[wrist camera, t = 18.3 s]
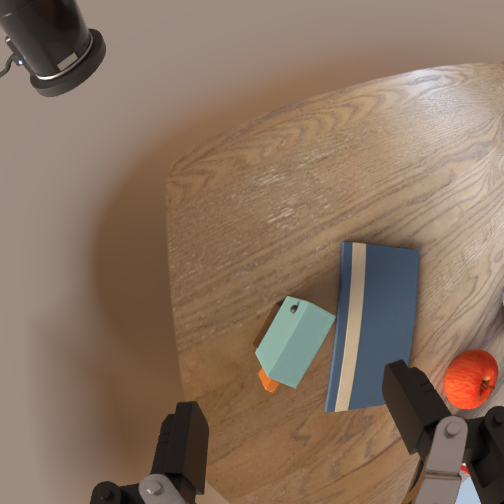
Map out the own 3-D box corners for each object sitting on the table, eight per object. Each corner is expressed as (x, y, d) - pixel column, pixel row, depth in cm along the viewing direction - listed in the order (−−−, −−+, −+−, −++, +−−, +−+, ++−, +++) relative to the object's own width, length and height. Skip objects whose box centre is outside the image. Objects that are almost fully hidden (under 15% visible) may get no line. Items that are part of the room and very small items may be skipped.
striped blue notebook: (398, 399, 27) (401, 401, 27) (324, 410, 26) (326, 412, 26) (416, 250, 29) (419, 249, 28) (341, 241, 28) (344, 241, 27)
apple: (476, 364, 29) (514, 375, 22) (446, 409, 28) (482, 427, 20) (460, 333, 29) (503, 341, 21) (426, 381, 28) (468, 400, 20)
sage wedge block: (270, 372, 26) (289, 404, 18) (242, 359, 26) (252, 389, 18) (307, 307, 27) (340, 318, 19) (280, 292, 27) (304, 298, 19)
